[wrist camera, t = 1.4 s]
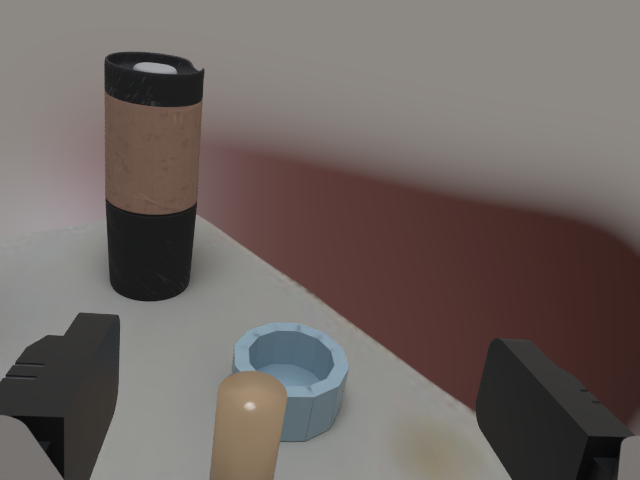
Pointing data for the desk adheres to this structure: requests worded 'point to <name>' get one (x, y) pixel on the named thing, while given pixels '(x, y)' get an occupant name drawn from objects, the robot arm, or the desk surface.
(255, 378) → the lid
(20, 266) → the desk surface
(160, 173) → the travel mug
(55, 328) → the desk surface
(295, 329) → the bowl
